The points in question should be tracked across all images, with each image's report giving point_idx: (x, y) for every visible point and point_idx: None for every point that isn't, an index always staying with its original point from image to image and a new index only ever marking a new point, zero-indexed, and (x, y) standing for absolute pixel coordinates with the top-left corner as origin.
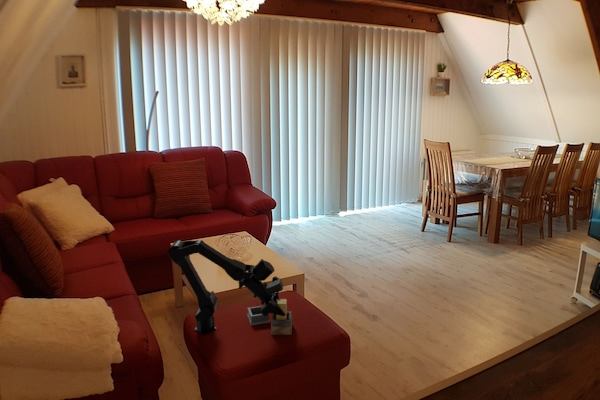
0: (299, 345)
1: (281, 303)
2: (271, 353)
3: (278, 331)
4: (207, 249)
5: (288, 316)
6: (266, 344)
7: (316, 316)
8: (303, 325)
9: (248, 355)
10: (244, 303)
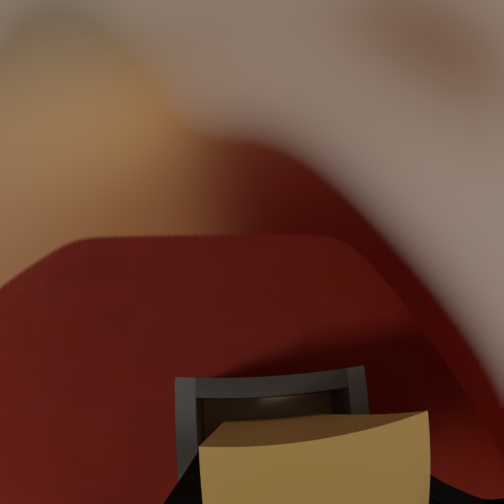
0: (410, 315)
1: (422, 497)
2: (476, 422)
3: None
4: None
5: (201, 407)
6: None
7: (111, 243)
8: (201, 311)
9: (483, 497)
10: None
